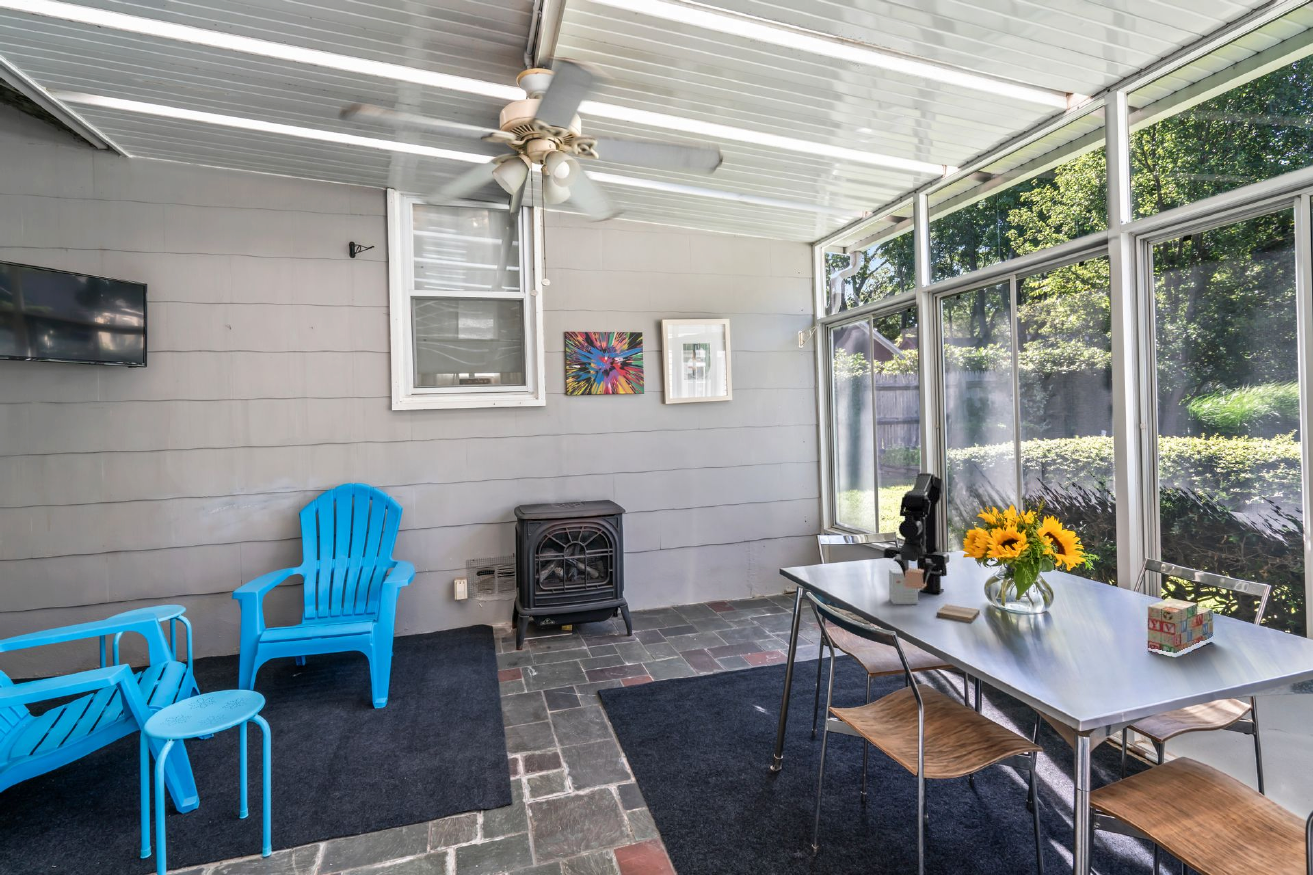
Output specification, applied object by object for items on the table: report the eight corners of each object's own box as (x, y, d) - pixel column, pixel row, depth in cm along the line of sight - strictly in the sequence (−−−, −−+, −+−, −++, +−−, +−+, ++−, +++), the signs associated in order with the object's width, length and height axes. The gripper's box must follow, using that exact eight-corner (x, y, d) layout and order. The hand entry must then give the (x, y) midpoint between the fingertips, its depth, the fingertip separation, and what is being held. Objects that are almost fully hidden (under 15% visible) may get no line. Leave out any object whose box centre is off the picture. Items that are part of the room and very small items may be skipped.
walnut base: (945, 610, 209) (945, 604, 209) (979, 615, 203) (979, 609, 203) (936, 618, 201) (936, 612, 201) (971, 624, 195) (971, 617, 195)
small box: (913, 599, 220) (913, 568, 220) (918, 604, 214) (918, 572, 214) (888, 599, 221) (888, 568, 220) (893, 604, 215) (892, 572, 215)
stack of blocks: (1185, 636, 180) (1186, 592, 180) (1213, 642, 175) (1214, 597, 175) (1147, 651, 170) (1147, 605, 170) (1175, 659, 165) (1175, 611, 164)
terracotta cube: (910, 583, 209) (910, 567, 209) (926, 585, 206) (926, 570, 206) (905, 586, 205) (905, 571, 205) (921, 589, 202) (921, 573, 202)
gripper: (876, 534, 205) (877, 583, 205) (939, 540, 193) (939, 592, 194) (889, 529, 213) (889, 576, 214) (949, 534, 202) (949, 584, 202)
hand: (915, 582), depth 206 cm, fingers closed on terracotta cube, 5 cm apart
